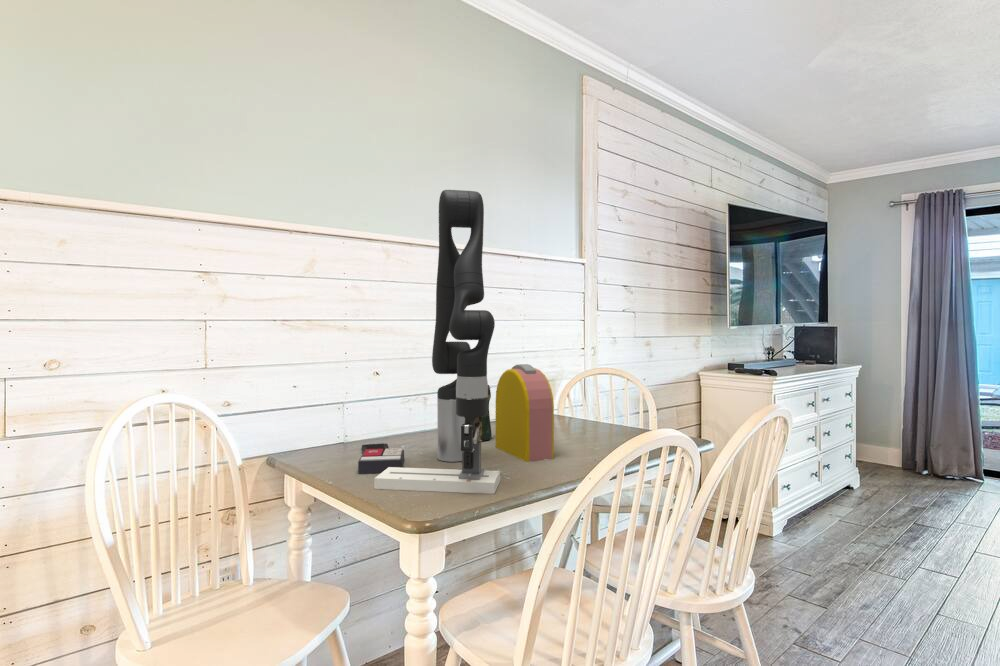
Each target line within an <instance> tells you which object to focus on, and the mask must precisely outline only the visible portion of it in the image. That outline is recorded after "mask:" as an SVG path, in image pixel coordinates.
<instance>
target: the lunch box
mask: <svg viewBox="0 0 1000 666" xmlns="http://www.w3.org/2000/svg"><path fill="white" fill-rule="evenodd" d="M554 412H555V407H554V396H553V391H552V388H551V384H550V381H549V380H548V378H547V376H546V375H545V374H544V373H543V371H541V370H540V369H538V368H535V367H533V366H532V364H528V363H526V364H522V363H521V364H515V365H514V366H512V367H511V368H509V369H506V370H505V371H503V373H502V374H501V375H500V377H499V379H498V382H497V385H496V390H495V448H496V449H499V450H500V451H502V452H504V451H505V453H506V452H507V453H506V454H509V455H511V456H513V457H515V458H517V459H520V460H521V459H522V460H521V461H523V460H524V462H525V461H526V463H529V462H530V461H531V462H537V461H536V460H540V461H545V460H544V459H548V460H553V459H552V458H554V453H555V451H554V450H555V449H554V447H555V445H554V444H555V442H554V440H555V437H554V436H555V433H554V432H555V427H554V425H555V424H554V423H555V420H554V419H555V417H554V416H555V413H554Z"/></svg>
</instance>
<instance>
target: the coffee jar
mask: <svg viewBox="0 0 1000 666" xmlns="http://www.w3.org/2000/svg"><path fill="white" fill-rule="evenodd" d="M491 393H492V392H491V387H490V385H489V384H488V414H487V415H486V416H483V417H482V439H481V442H485V441H489V440H491V439H492V428H491V427H492V426H491V418H490V400H491V398H492V394H491Z"/></svg>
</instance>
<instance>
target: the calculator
mask: <svg viewBox="0 0 1000 666" xmlns="http://www.w3.org/2000/svg"><path fill="white" fill-rule="evenodd" d="M404 462H405V450H404V449H403V448H402V447H400V448H399V447H397V448H395V447H394V448H389V449H385V450H383V449H366V451H365V452H364V453H363V455H360V457H359V460H358V461H357V464H358V465H357V466H358V469H357V470H358V471H357V472H358V473H357V474H358V475H374V474H376V475H379V474H381V473H382V472H383V471H384V470H386V469H387V468H388V467H400V468H404Z"/></svg>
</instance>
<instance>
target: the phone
mask: <svg viewBox="0 0 1000 666" xmlns="http://www.w3.org/2000/svg"><path fill="white" fill-rule="evenodd" d="M366 449H383V450H385V449H390V448H389V444H388V443H369V444H362V445H361V451H362V452H361V453H362V455H363V453H364V452H365V451H366ZM362 455H361V456H362Z"/></svg>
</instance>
